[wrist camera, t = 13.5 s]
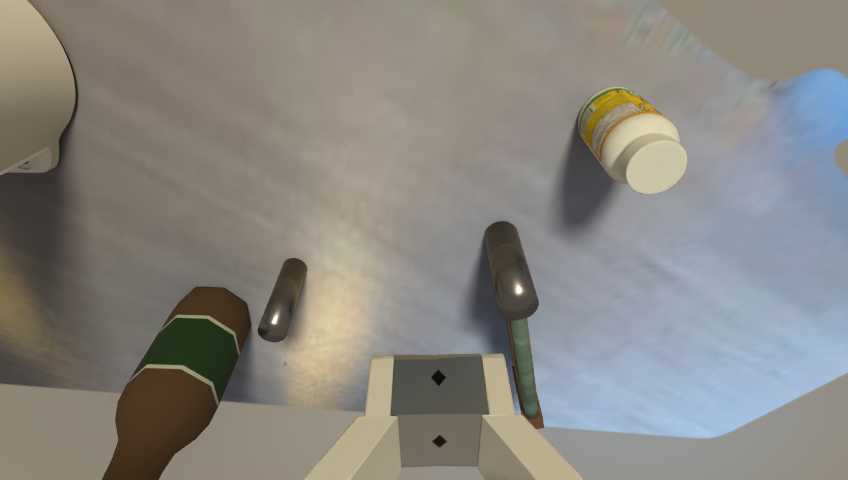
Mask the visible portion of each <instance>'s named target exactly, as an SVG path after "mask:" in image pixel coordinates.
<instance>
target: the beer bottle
mask: <svg viewBox="0 0 848 480" xmlns="http://www.w3.org/2000/svg"><path fill="white" fill-rule="evenodd" d="M250 325H251V323H250V319H249V314H248V309H247V305H246V302H245V301H243V300H242V299H240V298H239V297H237V296H236V295H234V294H233V293H231V292H230V291H228V290H227V289H225V288H218V287H196V288H194V289H193V290H192V291H191V292H190V293H189V294H188V295H187V296H185V297H184V298H183V299H182V300H181V301H180V302H179V303H178V305H177V306H176V307H175V309H174V310H173V311H172V313H171V314H170V316H169V317H168V319H167V321H166V322H165V324H164V325H163V327H162V329H161V330H160V332H159V333H158V335H157V337H156V338H155V340H154V341H153V343H152V345H151V346H150V348H149V350H148V351H147V353H146V354H145V356H144V358H143V359H142V361H141V362H140V364H139V366H138V367H137V369H136V370H135V372H134V374H133V375H132V377H131V378H130V380H129V382H128V383H127V385H126V387H125V389H124V391H123V393H122V395H121V397H120V399H119V401H118V405H117V412H116V418H115V421H116V427H117V434H118V443H117V446H116V449H115V452H114V455H113V458H112V460H111V462H110V464H109V466H108V468H107V470H106V473H105V474H104V477H103V479H102V480H159V478H160V476H161V474H162V472H163V470H164V469H165V467H166V466H167V465H168V463H169V462H170V460H171V459H172V457H173V456H174V454H175V453H177V452H178V451H180V450H181V449H182V448H184V447H185V446H186V445H188V444H190V443H191V442H192V441H193V440H195V439H196V438H197V437H198V436H199V435H200V434H201V433H202V432H203V430H204V429H205V428H206V427H207V426H208V425H209V423H210V421H211V419H212V417H213V415H214V414H215V412H216V410H217V408H218V405H219V403H220V401H221V398H222V396H223V393H224V391H225V388H226V386H227V384H228V381H229V379H230V376H231V374H232V371H233V369H234V367H235V364H236V362H237V359H238V357H239V354H240V352H241V349H242V347H243V345H244V342H245V340H246V337H247V334H248V331H249V328H250Z"/></svg>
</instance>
